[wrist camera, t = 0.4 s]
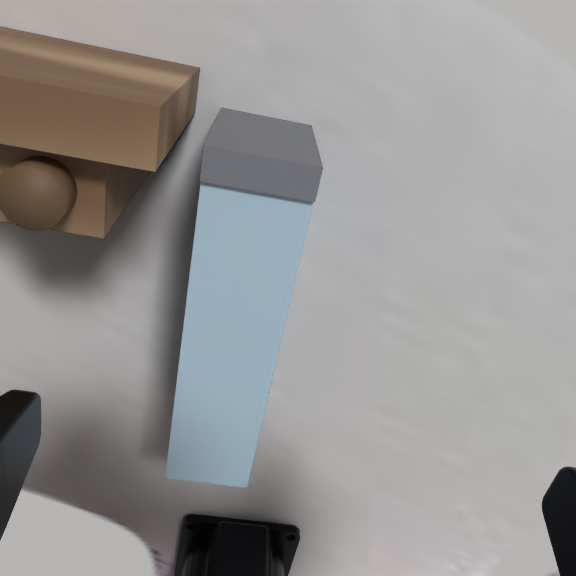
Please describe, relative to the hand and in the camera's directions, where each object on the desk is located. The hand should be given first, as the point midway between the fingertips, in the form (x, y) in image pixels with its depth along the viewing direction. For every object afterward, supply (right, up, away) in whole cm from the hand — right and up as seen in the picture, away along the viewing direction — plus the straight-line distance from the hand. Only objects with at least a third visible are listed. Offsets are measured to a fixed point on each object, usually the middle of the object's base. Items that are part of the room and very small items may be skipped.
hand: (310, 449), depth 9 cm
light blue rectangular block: (-2, +3, +13) cm, 13 cm away
